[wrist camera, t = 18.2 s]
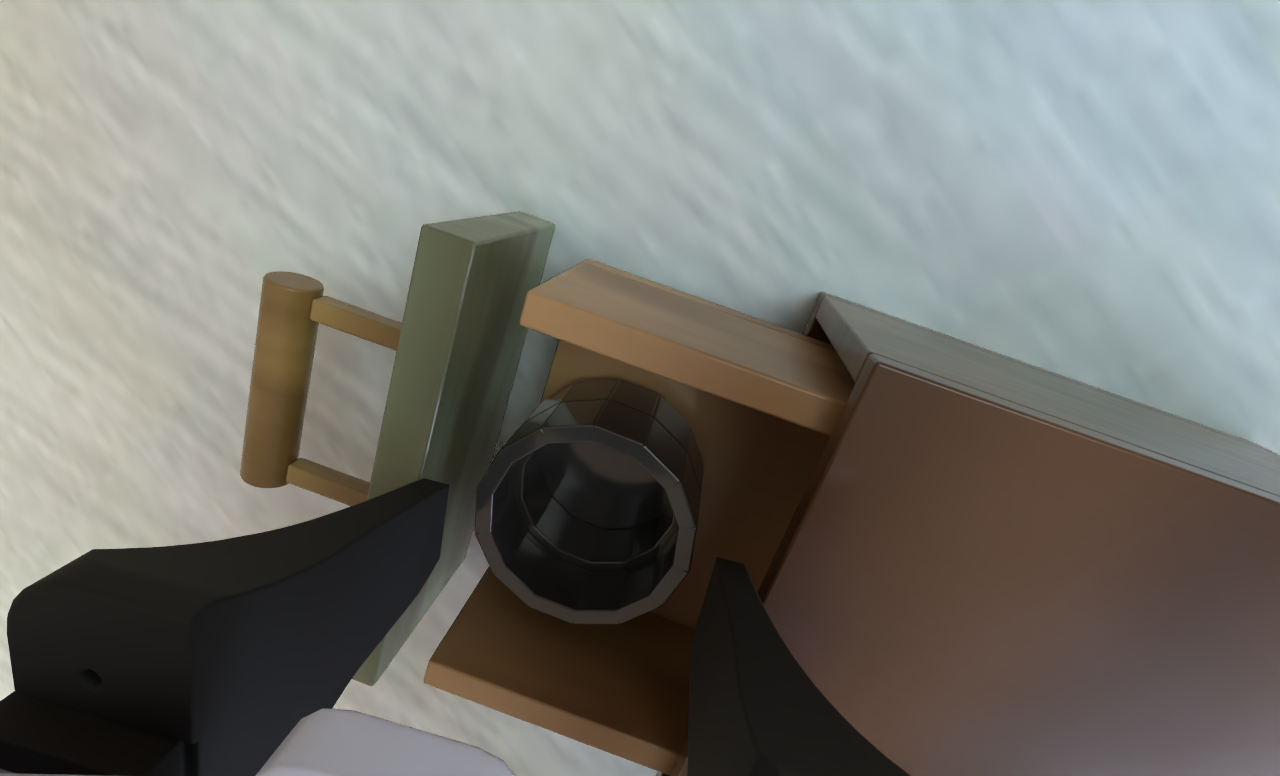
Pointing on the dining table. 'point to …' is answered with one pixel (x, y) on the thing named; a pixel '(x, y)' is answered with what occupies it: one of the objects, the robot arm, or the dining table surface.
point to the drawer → (481, 383)
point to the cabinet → (1030, 570)
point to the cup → (593, 504)
